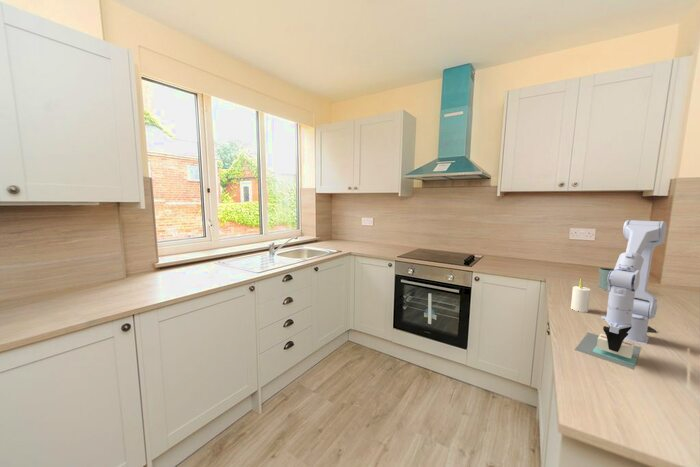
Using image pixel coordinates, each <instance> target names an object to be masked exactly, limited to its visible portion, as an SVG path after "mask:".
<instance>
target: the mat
mask: <svg viewBox="0 0 700 467" xmlns="http://www.w3.org/2000/svg"><path fill="white" fill-rule="evenodd" d="M599 335H600V334H595V333H591V332H587V333H586V335H585V336H584V337H583V338H582V339H581V340H580V342H579V343H578V345H577V346H576V347H575V348H574V351H577V352H580V353H583V354H585V355H589V356H592V357H595V358H597V359H601V360H604V361H607V362H610V363H612V364H615V365H620V366H622V367H625V368H628V369H631V370H635V367H636V364H637V360H638V358H639V355H640V352H641V350H642V348H641V346H638V345H634V349H633V354H632V357H631V359H630V358H627V357H624V356H620V355H617V354H614V353H611V352H608V351H604V350H601V349H598V348H597V340H598V337H599Z"/></svg>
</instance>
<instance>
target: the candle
mask: <svg viewBox="0 0 700 467" xmlns="http://www.w3.org/2000/svg"><path fill="white" fill-rule="evenodd" d="M571 291H572V293H571V302H570V303H571V304H570V309H571V310H572V309H573V311H574V310H575V312H578V311H579V312H578V313H589V306H590V299H591V298H590V297H591V288H589V287H585V286H584V283H583V279H582V278H580V279H579V284H578V286H577V285H575V286H572V290H571Z"/></svg>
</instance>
